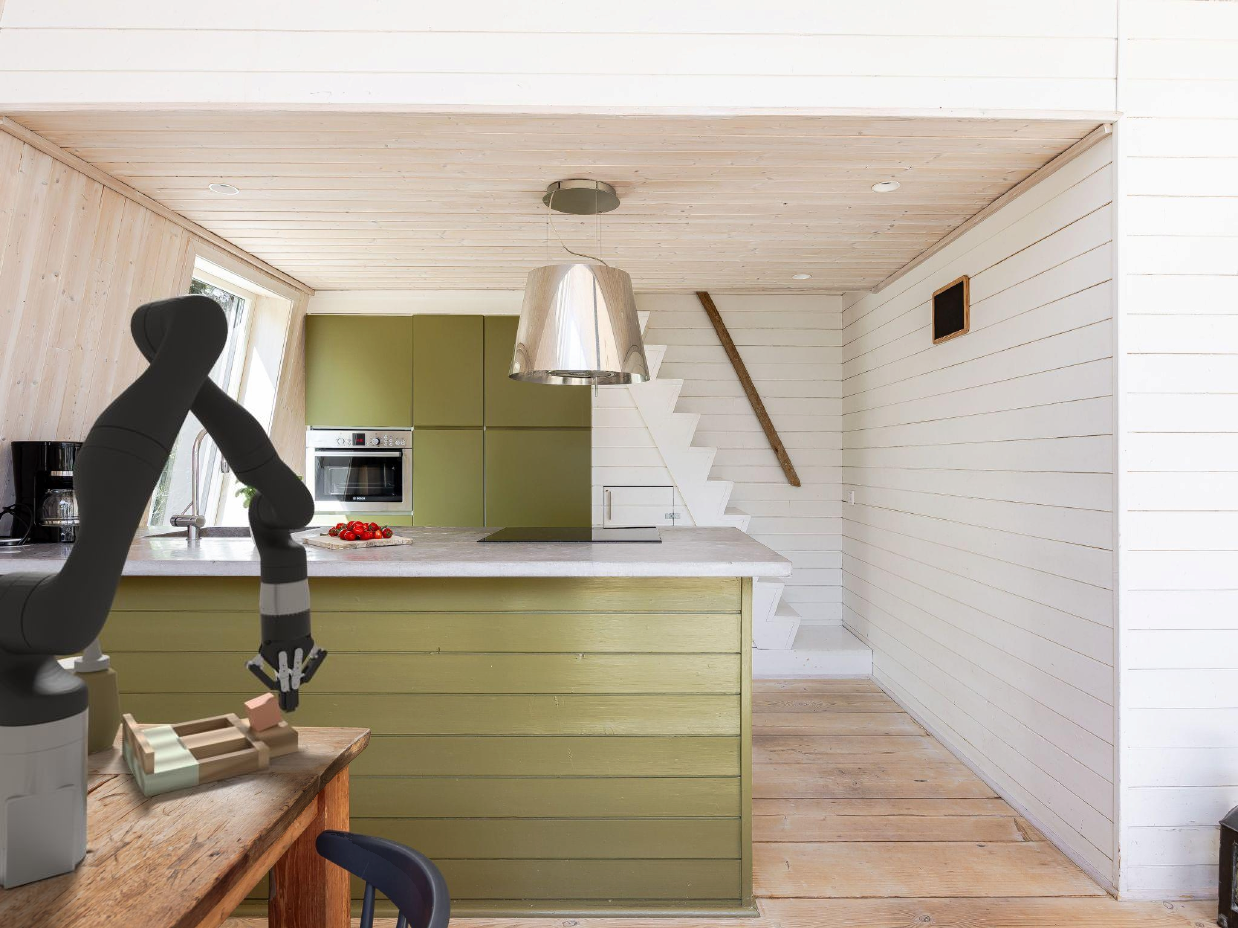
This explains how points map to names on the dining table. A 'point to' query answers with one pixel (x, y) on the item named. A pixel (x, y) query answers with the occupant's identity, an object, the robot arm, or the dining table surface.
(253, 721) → the block
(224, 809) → the dining table surface
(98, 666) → the squeeze bottle
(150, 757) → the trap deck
